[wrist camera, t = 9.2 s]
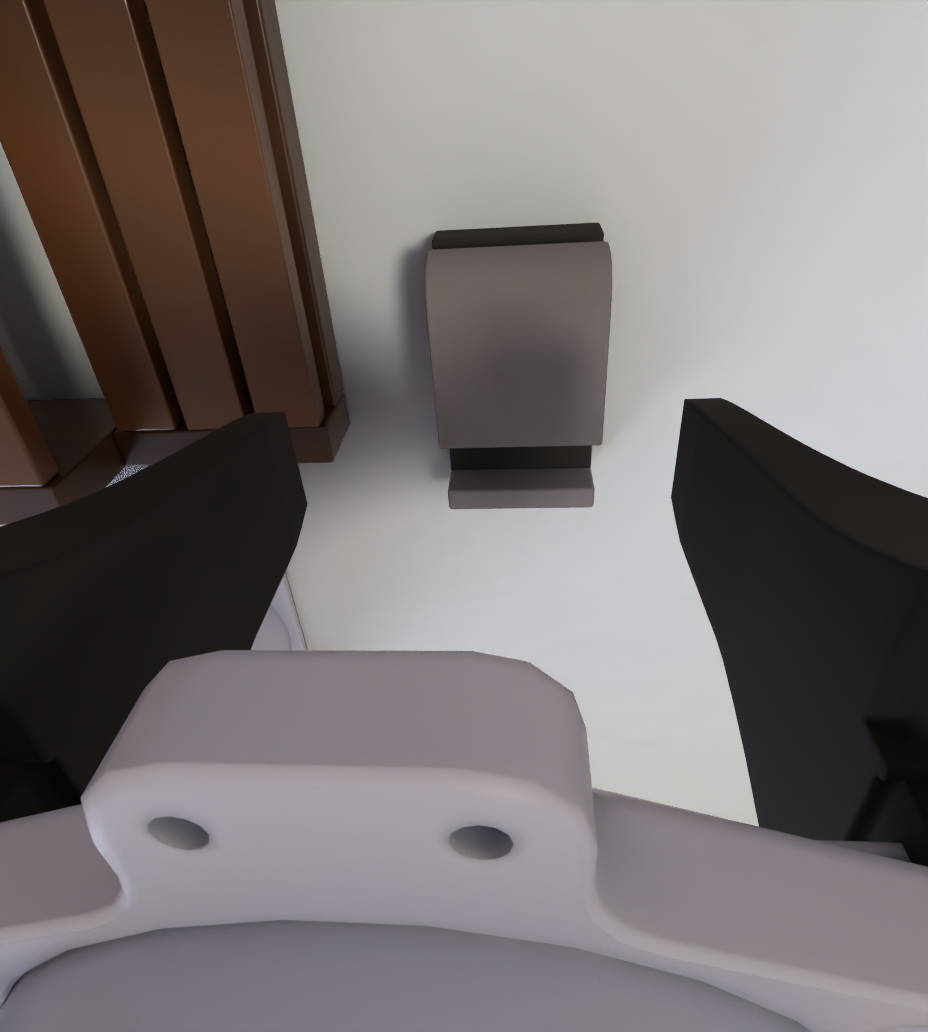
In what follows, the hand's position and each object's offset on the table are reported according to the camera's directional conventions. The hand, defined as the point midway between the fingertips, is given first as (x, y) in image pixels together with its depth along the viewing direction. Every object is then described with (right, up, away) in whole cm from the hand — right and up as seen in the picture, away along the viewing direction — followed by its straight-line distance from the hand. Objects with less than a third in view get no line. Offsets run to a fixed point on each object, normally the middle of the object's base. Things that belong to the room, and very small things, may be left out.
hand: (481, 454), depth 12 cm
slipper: (+1, +4, +8) cm, 9 cm away
